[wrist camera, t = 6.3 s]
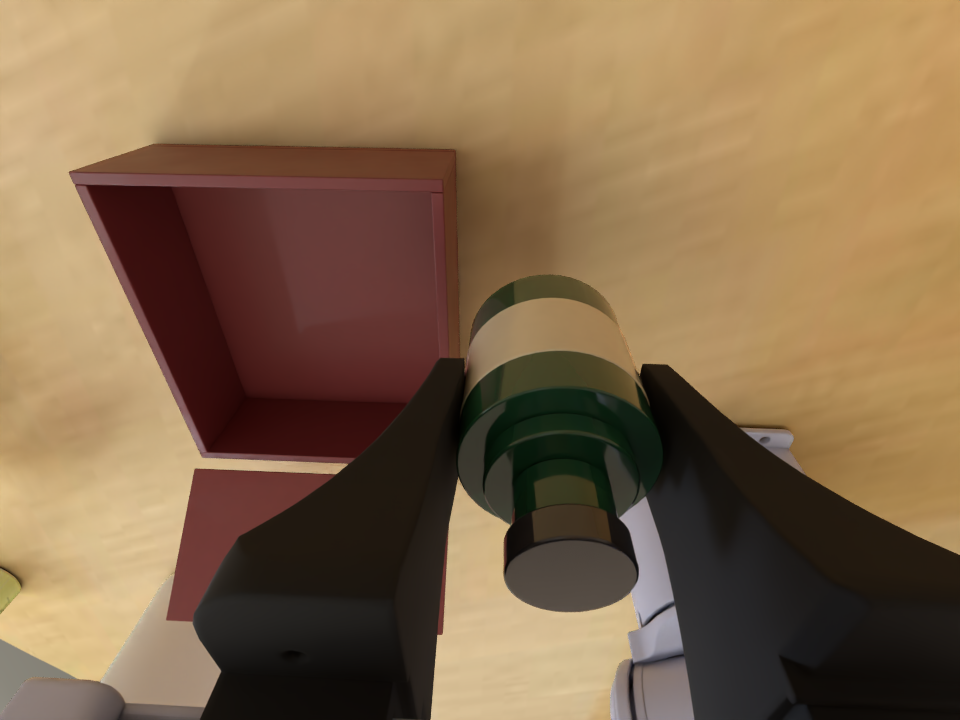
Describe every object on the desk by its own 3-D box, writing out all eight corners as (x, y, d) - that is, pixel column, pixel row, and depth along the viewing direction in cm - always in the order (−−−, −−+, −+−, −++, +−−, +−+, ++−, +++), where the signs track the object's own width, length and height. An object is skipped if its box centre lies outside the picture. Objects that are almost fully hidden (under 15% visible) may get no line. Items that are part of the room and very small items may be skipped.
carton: (455, 149, 18) (443, 179, 14) (460, 405, 25) (453, 468, 22) (153, 143, 18) (67, 171, 15) (244, 398, 26) (201, 458, 22)
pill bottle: (149, 560, 36) (-39, 841, 23) (256, 570, 36) (125, 855, 23) (180, 614, 40) (36, 872, 28) (275, 622, 40) (172, 884, 28)
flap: (442, 635, 20) (443, 633, 20) (450, 479, 21) (451, 479, 21) (165, 620, 20) (170, 618, 20) (194, 468, 22) (198, 468, 22)
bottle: (632, 274, 13) (747, 499, 7) (606, 401, 15) (672, 647, 9) (468, 270, 13) (434, 486, 7) (469, 396, 16) (444, 636, 9)
